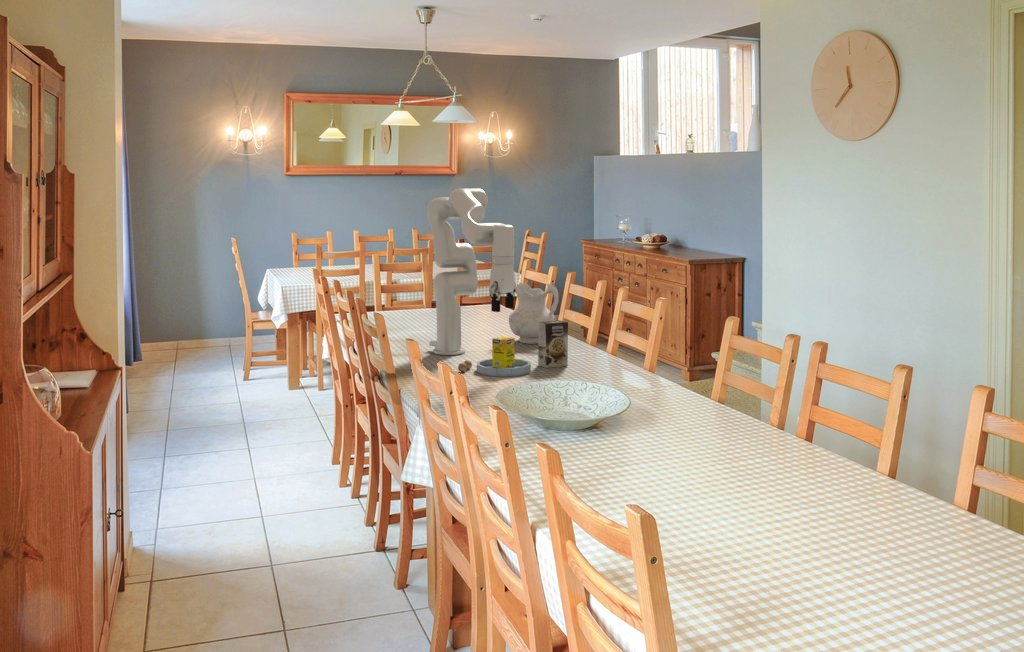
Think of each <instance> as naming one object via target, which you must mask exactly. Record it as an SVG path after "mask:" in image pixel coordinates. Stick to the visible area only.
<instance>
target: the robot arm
mask: <svg viewBox="0 0 1024 652" xmlns="http://www.w3.org/2000/svg"><path fill="white" fill-rule="evenodd" d="M488 204H489V198H488V195H487V194H486V192H485V191H484V190H483V189H481V188H480V187H479V188H477V187H476V188H475V187H474V188H473V187H472V188H468V187H467V188H466V187H465V188H463V187H462V188H461V187H460V188H456V189H454V190H452V191H451V192H450V193H449V196H441V197H436V198H433V199H431V200H430V201H429V202H428V204H427V209H426V215H427V221H428V224H429V227H430V229H431V233H432V243H433V244H432V245H433V253H434V254H433V255H434V260H435V265H436V266H437V267H439V268H441V269H458V268H460V269H461V270H458V271H457V270H453V271H451V270H450V271H441V272H440V273H439V272H438V273H437V274H436V275H435V276H434V278H433V281H432V282H433V283H432V285H433V291H434V296H435V297H434V298H435V309H436V312H435V313H436V340H430V341H429V344H428V345H429V346H430V347H434V348H433V350H432V353H433V354H435V355H438V356H439V355H441V356H456V355H463V354H465V353H466V348H464V347H462V309H461V308H462V307H461V304H460V303H459V301H458V300H457V298H456V297H458V296H459V297H461V296H470V295H474V294H475V293H476V292H477V290H478V287H479V283H478V282H479V281H478V278H479V277H478V270H477V269H478V267H477V259H476V253H475V250H474V247H473V246H472V245H471V244H473V245H476V246H483V245H487V246H488V245H490V246H491V245H492V246H491V247H492V251H491V254H492V256H491V257H492V258H491V260H492V261H491V263H492V264H491V268H490V269H491V270H490V278H489V288H488V291H489V297H490V301H491V310H490V311H491V312H495V313H500V312H501V299H500V298H501V296H502V295H506V296H504V301H505V302H504V305H505V306H504V307H505V309H515V295H516V293H515V288H516V286H517V283H516V281H515V268H514V265H515V227H514V226H513V225H511V224H504V223H503V222H502V223H501V222H482V221H483V220H484V218H485V215H486V208H487V206H488ZM447 220H461V224H460V225H461V226H460V227H461V231H462V234H463V236H464V238H466V239H467V241H469V243H471V244H469V243H467V242H456V237H455V236H456V235H455V230H454V228H453V226H452V225H451V224H450V222H448V221H447Z"/></svg>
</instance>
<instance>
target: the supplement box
mask: <svg viewBox="0 0 1024 652" xmlns="http://www.w3.org/2000/svg"><path fill="white" fill-rule="evenodd" d="M491 340H492V345H491V346H492V347H491V348H492V352H491V353H492V355H491V356H492V357H491V359H492V368H515V359H516V357H515V355H516V354H515V349H516V348H515V342H516V339H515V337H510V336H498V337H495V338H492V339H491Z"/></svg>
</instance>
